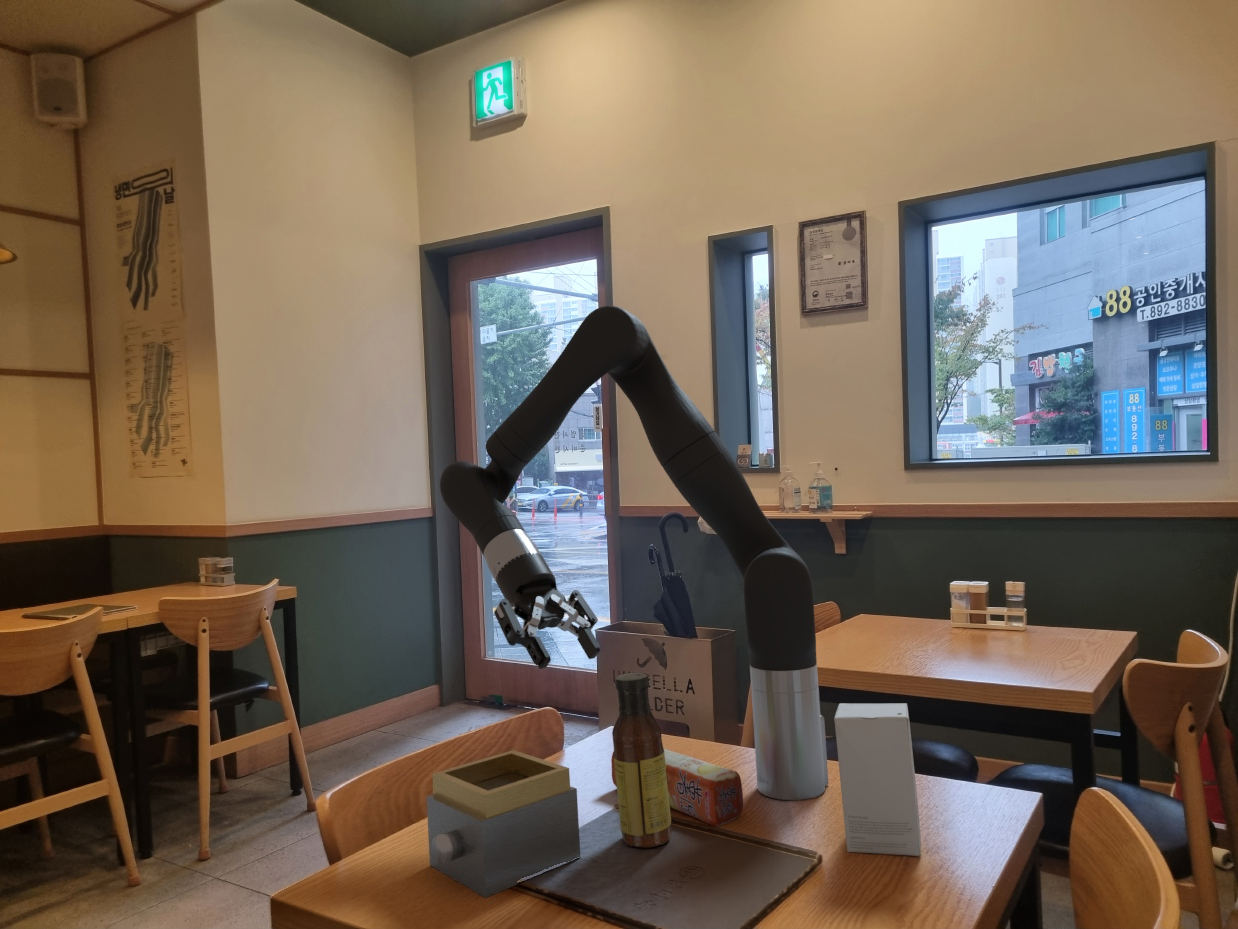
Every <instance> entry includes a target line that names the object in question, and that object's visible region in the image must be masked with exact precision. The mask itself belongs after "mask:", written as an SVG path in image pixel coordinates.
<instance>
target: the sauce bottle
mask: <svg viewBox="0 0 1238 929" xmlns="http://www.w3.org/2000/svg"><path fill="white" fill-rule="evenodd" d="M649 685H650V682H649V676H648V674H646V673H643V672H642V673H641V672H630V673H629V672H628V673H625V674H620V675H617V676H615V688H616V691H617V694H618V696H617V698H618V718H617V719H616V721H615V724H614V726H613V728H612V733H611V734H612V743H613V744H612V745H613V751H614V764H615V773H616V784H617V787H616V793H617V794H616V795H617V802H618V804H617V805H618V813H619V814H618V816H619V817H618V818H619V826H620V830H621V836H622V839H623V841H624V842H625V844H626V845H628V846H630V847H632V846H634V847H635V848H642V847H643V848H642V849H648V848H655V846H656V847H659V846H658V845H660V846H662V845H664V844H666V843H667V842H669V840H670V839H671V836H672V827H671V824H672V816H671V807H670V805H669V795H668V785H667V775H666V765H665V754H664V749H665V748H664V745H663V740H662V728H661V726H660V725H659V723H658V722H657V720H656V718H655V716H654V714H653V712H652V711H651V705H650V700H649V699H650V698H649V687H650V686H649ZM634 847H633V848H634Z"/></svg>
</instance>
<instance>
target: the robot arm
mask: <svg viewBox="0 0 1238 929" xmlns="http://www.w3.org/2000/svg"><path fill="white" fill-rule="evenodd" d="M607 374H608V375H609V376H610V378H612V380H613V381H614V382H615V383H616V384H617V386H618V387H619V388H620V390H621V391H622V392H623V393H624V395H625V397H626V398H627V399H628V400H629V402H630V403H631V404H632V406H633V408H634V409H635V412H636V413H637V416H638V417H639V420H640V422H641V425H642V427H643V430H644V433H645V435H646V437H647V440H648V443H649V444H650V447H651V449H652V451H653V453H654V455H655V457H656V459H657V461H658V463H659V464H660V466H661V467H662V468H663V470H664V471H665V473H666V475H667V476H668V478H669V480H670V481H671V482H672V484H673V485H674V487H675V488H676V489H677V490H678V492H679V494H681V496H682V497H683V499H684V500H685V501H686V502H687V503H688V504H689V505H690V507H691V508H692V509H693V510H694V512H696V514H698V516H699V517H700V518H701V519H703V521H704V522H705V523H706V524H707V525H708V526H709V527H710V528H711V529H712V530H713V532H715V534H716V535H717V536H718V538H719V539H720V540H721V542H722V544H723V545H724V546H725V548H726V550H727V551H728V553H729V554H730V557H731V558H732V560H733V561H734V564H735V565H736V567H737V569H738V571H739V573H740V576H741V577H742V579H743V599H744V600H743V601H744V613H745V626H746V628H745V630H746V643H747V650H748V658H749V673H750V674H749V675H750V687H751V688H750V689H751V701H752V702H751V703H752V704H751V705H752V720H753V736H754V738H753V739H754V752H755V768H756V770H755V771H756V784H757V790H758V792H759V793H760V794H762V795H764V796H766V797H769V798H773V799H777V800H785V801H800V800H808V799H813V798H816V797H818V796H821V795H822V794H823V793H824V792H825V791H826V786H828V785H829V768H828V756H827V755H828V754H827V742H826V739H827V738H826V727H825V726H826V725H825V717H824V716H823V715H822V714H821V707H820V706H821V705H820V704H821V703H820V691H819V690H820V689H819V677H818V662H817V661H818V660H817V638H816V637H817V636H816V634H817V633H816V625H815V624H816V623H815V622H816V621H815V606H814V604H815V602H814V592H813V580H812V577H811V572H810V570H809V567H808V565H807V563H806V562H805V561H804V560H803V558H802V557H801V556H800V555H799V553H797V552H796V551H795V550H794V548H792V547H791V546H790V544H789V543H788V542H787V541H786V539H784V537H783V536H782V535H781V534H780V533H779V531H778V530H777V529H776V528H775V527H774V525H773V524H772V523H771V522H770V520H769V519H768V517H767V516H766V515H765V513H764V511H763V510H762V509H761V507H760V506H759V504H758V502H757V499H756V498H755V496H754V494H753V492H752V491H751V488H750V486H749V485H748V482H747V480H746V478H745V477H744V475H743V473H742V472H741V469H740V468H739V467H738V465H737V463H736V461H735V459H734V458H733V456H732V454H731V453H730V452H729V449H728V448H727V447H726V445H725V444H724V442H723V441H722V439H721V438H720V437H719V435H718V433H717V432H716V431H715V429H714V428H713V427H712V425H711V424H710V423H709V421H708V420H707V419H706V417H705V416H704V414H703V413H702V412H701V411H700V410H699V408H698V407H697V406H696V405H695V403H694V402H693V401H692V399H691V398H690V397H689V396H688V395H687V394H686V392H685V391H684V390H683V389H682V388H681V386H679V384H678V383H677V381H676V380H675V379H674V377H673V375H672V373H671V372H670V371H669V370H668V367H667V366H666V364H665V362H664V360H663V359H662V357H661V355H660V353H659V351H658V350H657V347H656V346H655V344H654V342H653V340H652V338H651V335H650V334H649V332H648V330H647V328H646V327H645V324H643V322H642V321H641V320H640V319H639V318H638V317H637V316H635V315H634V314H632V313H631V312H630V311H627V310H625V309H624V308H622V307H619V306H615V305H605V306H600V307H597V308H596V309H594V310H593V311H591V312H589V314H587V315H586V316H585V318H584V320H582V322H581V324H580V325H579V326H578V328H577V330H576V331H575V332H574V334H573V335H572V336H571V338H570V340H569V341H568V343H567V345H565V347H564V349H563V351H561V353H560V354H559V356H558V357H557V359H556V360H555V362H554V363H553V364H552V365H551V367H550V368H549V370H548V371H547V372H546V374H545V375H544V376H543V377H542V379H541V380H540V381H539V382H538V383H537V385H536V386H535V387H534V388H533V390H531V392H530V393H529V394H528V395H527V396H526V398H524V400H523V401H521V403H520V404H519V405H518V406H517V407H516V408H515V410H513V411H512V412H511V414H510V415H509V416H508V417H507V418H506V419H505V420H504V421H503V422H502V423H500V425H499V426H498V427H497V428H496V429H495V431H494V432H493V433H492V434H491V435H490V436H489V438H488V439H487V441H486V442H485V451H486V453H487V455H488V457H489V458H490V459H491V460H490V461H489V463H488V465H487V466H486V467H485V468H484V467H482V466H479V465H477V464H475V463H472V462H470V461H465V460H464V461H463V460H459V461H454V462H452V463H450V464H449V465H448V466H446V468H444V470H443V471H442V472H441V476H440V478H439V479H440V480H439V490H440V494H441V495H440V496H441V497H442V500H443V501H444V503H445V506H447V508H448V509H449V510H450V511H451V513H452V514H453V515H454V516H455V518H457V520H458V521H459V522H460V523H461V525H463V527H464V528H465V529H466V530H467V531H468V532H469V533H470V534H471V536H472V537H473V539H474V541H475V543H476V544H477V546H478V548H479V550H480V553H481V554H482V555H483V557H484V559H485V562H486V565H487V568H488V571H489V572H490V573H491V575H492V578H493V579H494V581H495V583H496V585H497V587H498V588H499V590H500V592H501V594H502V596H503V598H502V599H501V600H500V602H499V603H498V605H497V607H496V608H495V610H494V612H493V614H494V616H495V618H496V621H497V623H498V624H499V627H500V629H501V631H502V633H503V635H504V638H505V639H506V642H507V644H509V646H510V647H511V646H512V647H513V646H516V645H520V646H521V647H522V648H525V649H526V651H527V653H528V654H529V655H528V656H529V657H530V658H531V661H532V662H533V663H534V665H535V666H537V667H538V669H539V670H542V669H546V668H547V667H548V666H549V664H550V663H551V661H552V659H551V655H550V653H549V651H548V650H547V649H546V646H545V644H544V643H543V641H542V639H541V637H540V636H537V632H538V631H540V630H544V629H546V628H550V629H551V628H552V629H554V628H558V629H560V630H561V631H563V632H569V633H570V634H572V635H573V636H575V637H577V639H576V640H577V641H578V643H579V645H580V646H581V648H582V650H583V651H584V652H583V653H584V654H585V655H586V657H587V658H588V660H591V659H592V660H593V659H595V658H596V657H597V656H598V654H599V653H600V651H601V645H600V643H599V642H598V640H597V638H596V637H595V636H596V635H594V634H593V631H592V630H593V628H594V627H595V625H596V624H597V623H598V621H599V619H598V617H597V615H596V614H595V613H594V611H593V609H592V608H591V607H590V606H589V604H588V602H587V600H586V599H585V598H584V597H583V594H581V592H580V591H579V590H577V589H573V591H572V592H571V593H570V594H565V595H564V594H563V593H561V592H560V591H559V590H558V588H557V581H556V576H555V575H554V574H553V571H551V569H550V568H551V567H549V565H548V563H547V562H546V560H545V558H544V557H543V555H542V554H541V552H540V550H539V549H538V546H537V544H535V542H534V541H533V540H532V539H531V537H530V536H529V535H528V533H527V532H526V529H524V527H523V525H522V523H521V522H520V520H519V518H518V517H517V515H516V514H515V512H514V511H513V510H512V509H511V508H509V506H507V505H505V504H504V503H505V501H506V500H507V499H508V497H509V495H510V493H511V492H512V490H513V489H514V486H515V485H516V483H517V482H518V480H519V478H520V476H521V474H522V471H523V470H524V468H525V467H526V466H527V465H529V463H530V462H531V461H532V460H533V459H534V458H535V457H536V455H538V454H539V452H541V450H543V449H544V447H545V446H546V445H547V444H548V443H549V442H550V441H551V439H552V438H553V437H554V436H555V435H556V433H557V431H558V430H559V429H560V428H561V426H562V424H563V423H564V421H565V420H566V417H567V416H568V414H569V413H570V411H571V410H572V408H573V407H574V405H575V404H576V403H577V402H578V401H579V399H580V398H581V397H582V396H583V395H584V394H585V393H586V392H587V390H589V389H590V388H591V387H592V386H593V385H594V384H595V383H597V382H598V381H599V380H601V379H602V377H604V376H605V375H607ZM565 614H566V615H567V616H568V618H567V619H566V620H564V617H565ZM518 618H520V619H521V620H522V621H523V624H522V626H521V623H520V621H519V619H518ZM573 623H575V624H577V625H578V626H576V625H575V624H573Z"/></svg>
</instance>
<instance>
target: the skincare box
mask: <svg viewBox="0 0 1238 929" xmlns="http://www.w3.org/2000/svg"><path fill="white" fill-rule="evenodd" d="M833 720H834V730H835V738H836V748H837V750H836V751H837V759H838V760H837V761H838V768H839V769H838V770H839V780H840V792H841V803H842V812H843V814H842V815H843V823H844V832H845V843H846V851H847V853H862V854H879V855H880V854H881V855H895V856H896V855H898V856H899V855H900V856H910V857H911V856H913V857H914V856H915V857H920V856H921V852H922V851H921V849H922V848H921V846H922V844H921V843H922V842H921V826H920V816H919V803H918V792H917V784H916V783H917V782H916V773H915V772H916V771H915V765H914V764H915V763H914V752H913V744H912V735H911V733H912V732H911V724H910V716H909V709H908V703H904V702H903V703H897V702H896V703H893V702H891V703H848V702H847V703H845V702H844V703H841V702H840V703H839V704H838V706H837V708H836V712H835V715H834V717H833Z"/></svg>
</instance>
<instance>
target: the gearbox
mask: <svg viewBox="0 0 1238 929" xmlns="http://www.w3.org/2000/svg"><path fill="white" fill-rule="evenodd" d="M431 775H432V791H433V792H432V794H430V795H427V796H426V809H427V811H426V813H427V830H428V831H427V833H428V852H429V866H430V867H432V868H433V869H435V870H437V871H439V872H440V873H443V875H446V876H447V877H448V878H451V879H452V880H454V881H456V882H458V883H459V884H461V885H463V886H464V887H466V888H468V889H470V891H473V892H475V893H476V894H478V895H480V896H482V897H483V898H488V897H491V896H493V895H496V894H497V893H500V892H503V891H505V890H508V889H510V888H512V887H514V886H517V885H518V884H517V881H518V880H520V879H521V878H524V877H527V876H530V875H533V874H535V873H538V872H540V871H542V870H544V869H548V868H549V867H552V866H554V865H557V864H560V863H563V862H568V861H571V860H573V859H575V858H577V857H580V858H581V846H580V845H581V842H580V826H579V824H580V823H579V808H578V789H577V788H576V787H573V786H572V785H571V778H570V777H571V776H570V768H569V767H567V766H564V765H560V764H558V763H554V762H552V761H548V760H545V759H542V758H540V757H537V756H533V755H529V754H527V753H525V752H521V751H518V750H514V749H512V750H509V751H506V752H502V753H498V754H494V755H491V756H488V757H485V758H481V759H477V760H474V761H471V762H467V763H464V764H459V765H456V766H454V767H450V768H446V769H443V770H440V771H436V772H433V773H432V774H431Z"/></svg>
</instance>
